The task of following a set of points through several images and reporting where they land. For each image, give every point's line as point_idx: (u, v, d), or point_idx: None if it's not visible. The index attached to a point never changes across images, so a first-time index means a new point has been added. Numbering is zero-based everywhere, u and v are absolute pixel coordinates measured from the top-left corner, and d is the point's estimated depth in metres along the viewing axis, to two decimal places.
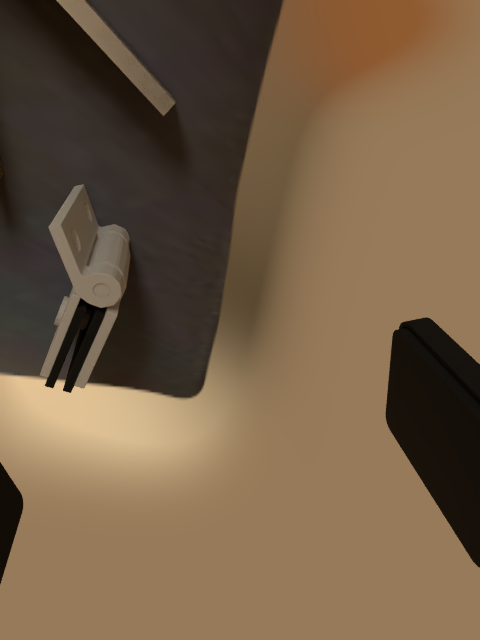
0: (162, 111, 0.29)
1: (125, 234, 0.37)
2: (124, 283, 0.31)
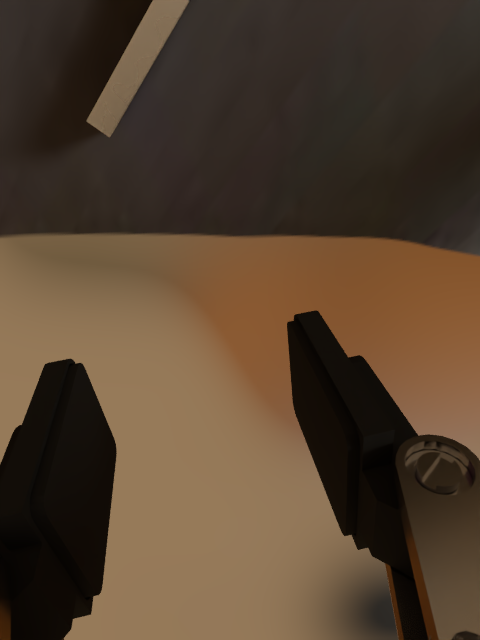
0: (92, 119, 0.20)
1: None
2: None
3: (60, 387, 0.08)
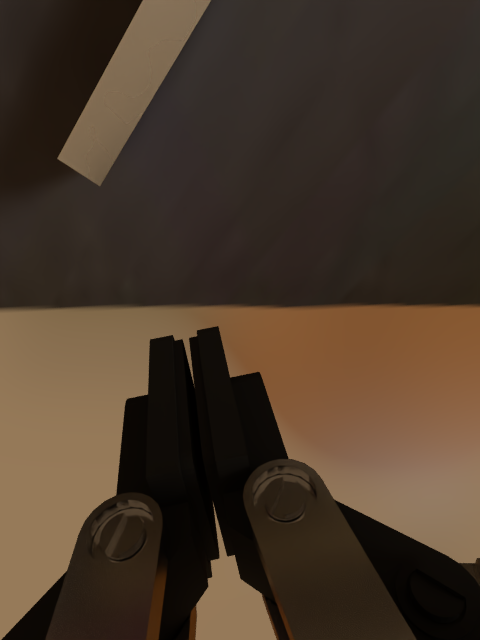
0: (67, 154, 0.11)
1: None
2: None
3: (173, 360, 0.09)
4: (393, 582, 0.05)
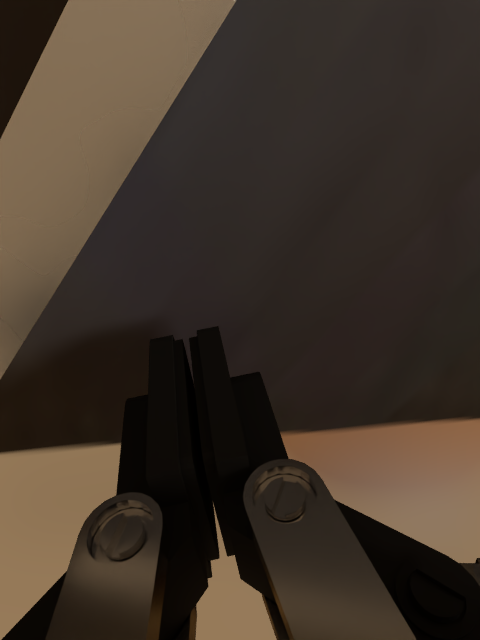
0: None
1: None
2: None
3: (173, 360, 0.09)
4: (393, 582, 0.05)
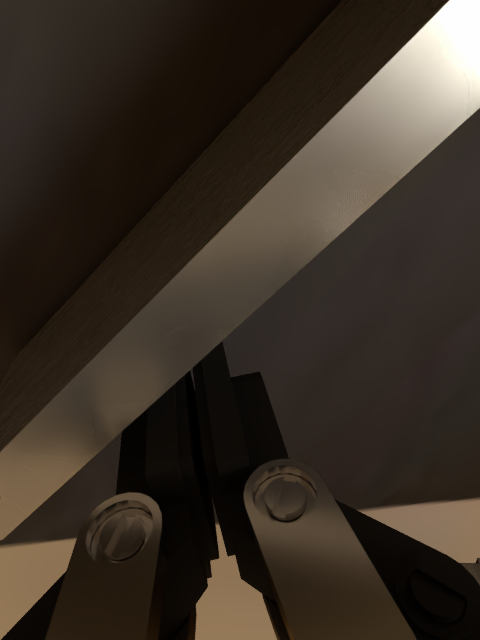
0: None
1: None
2: None
3: None
4: (393, 582, 0.05)
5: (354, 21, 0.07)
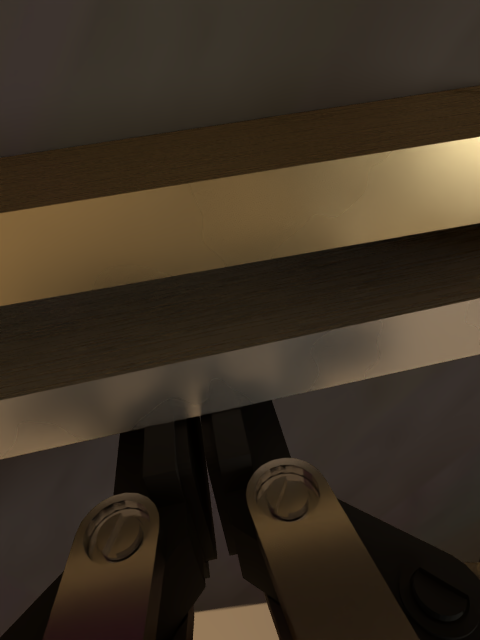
0: None
1: None
2: None
3: None
4: (396, 581, 0.05)
5: (287, 266, 0.09)
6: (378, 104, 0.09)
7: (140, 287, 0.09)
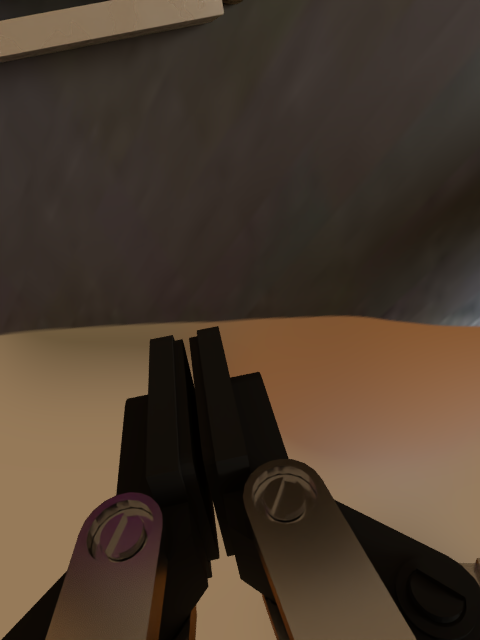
0: None
1: None
2: None
3: (173, 360, 0.09)
4: (393, 582, 0.05)
5: None
6: None
7: None
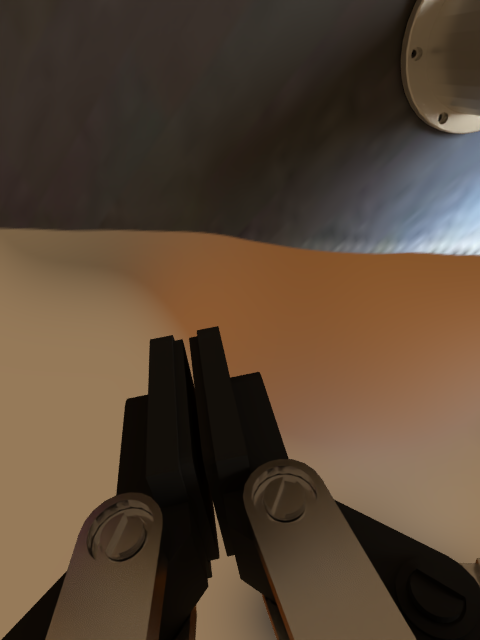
0: None
1: None
2: None
3: (173, 360, 0.09)
4: (393, 582, 0.05)
5: None
6: None
7: None
